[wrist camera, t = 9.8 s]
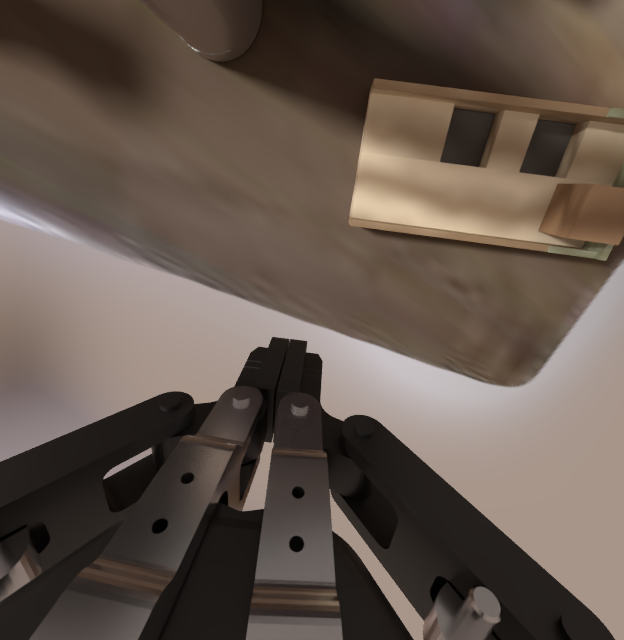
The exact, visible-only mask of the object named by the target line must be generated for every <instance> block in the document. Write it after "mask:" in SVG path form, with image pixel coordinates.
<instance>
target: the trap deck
mask: <svg viewBox="0 0 624 640" xmlns="http://www.w3.org/2000/svg"><path fill="white" fill-rule="evenodd" d="M457 109H460V110H457ZM465 110H468V111H465ZM473 111H476V112H473ZM481 112H484V113H481ZM489 113H492V114H489ZM494 116H495V117H494ZM493 119H494V120H493ZM538 119H539V120H538ZM544 120H547V121H544ZM552 121H554V122H552ZM492 122H493V123H492ZM559 122H562V123H559ZM567 123H570V124H567ZM575 124H576V125H575ZM490 129H491V130H490ZM489 132H490V133H489ZM488 135H489V136H488ZM485 145H486V146H485ZM484 148H485V149H484ZM481 158H482V159H481ZM480 161H481V162H480ZM479 164H480V165H479ZM557 184H598V185H605V186H613V187H620V188H624V109H622V108H614V107H612V108H606V107H598V106H590V105H582V104H575V103H567V102H559V101H551V100H543V99H535V98H527V97H519V96H511V95H503V94H495V93H487V92H480V91H472V90H464V89H456V88H448V87H440V86H432V85H424V84H416V83H408V82H400V81H392V80H385V79H377V78H374V81H373V83H372V86H371V88H370V93H369V99H368V105H367V111H366V117H365V124H364V130H363V136H362V142H361V148H360V154H359V161H358V167H357V173H356V179H355V185H354V191H353V198H352V204H351V210H350V216H349V224H350V226H357V227H364V228H372V229H379V230H387V231H394V232H402V233H409V234H417V235H424V236H432V237H439V238H447V239H454V240H462V241H469V242H477V243H484V244H492V245H500V246H507V247H515V248H522V249H530V250H537V251H545V252H550V253H557V254H565V255H572V256H580V257H587V258H595V259H598V260H604V261H606V260H607V258H608V256H609V254H610V252H611V250H612V248H613V246H614V245H612V244H605V243H597V242H590V241H583V240H575V239H568V238H564V237H560V236H556V235H551V234H547V233H543V232H539V231H538V230H539V227H540V225H541V222H542V220H543V218H544V215H545V213H546V211H547V208H548V206H549V203H550V201H551V199H552V196H553V194H554V191H555V189H556V187H557Z"/></svg>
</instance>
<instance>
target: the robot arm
mask: <svg viewBox="0 0 624 640" xmlns="http://www.w3.org/2000/svg"><path fill="white" fill-rule="evenodd" d="M140 1H141V2H142V3H143V4H144V5H146V6H147V7H148V8H149V9H150V10H151V11H152V12H153V13H154V14H155V15H156V16H157V17H158V18H160V19H161V20H162V21H163V22H164V23H165V24H166V25H167V26H168V27H169V28H170V29H171V30H172V31H173V32H175V33H176V34H177V35H178V36H179V37H180V38H181V39H182V40H183V41H184V42H185V43H186V44H187V45H188V46H189V47H190V48H192V49H193V50H194V51H195V52H197V53H198V54H199V55H201V56H203V57H204V58H206V59H209V60H213V61H216V62H226V61H229V60H233V59H235V58H237V57H239V56H240V55H242V54H243V53H244V52H245V51H246V50H247V49H248V48H249V47H250V46H251V44H252V42H253V41H254V39H255V38H256V35H257V32H258V30H259V27H260V22H261V17H262V0H140ZM306 348H307V341H301V340H293V339H290V343H289V339H285V338H276V337H272V339H271V342H270V344H269V347H268V348H264V347H258V348H256V349H255V350H254V351H252V352H251V353H250V355H249V357H248V359H247V362H246V364H245V366H244V368H243V370H242V372H241V374H240V376H239V378H238V380H237V382H236V384H235V387H233V388H230V389H228V390H226V391H225V392H224V393H223V394H222V395H221V397H220V398H219V400H218V401H215V402H211V403H201V404H194V400H193V398H192V397H191V396H190V395H189V394H187V393H184V392H167V393H164V394H161V395H158V396H156V397H153V398H151V399H149V400H146V401H144V402H142V403H139V404H137V405H135V406H132V407H130V408H128V409H125V410H123V411H120V412H118V413H116V414H113V415H111V416H108V417H106V418H104V419H101V420H99V421H97V422H94V423H92V424H90V425H87V426H85V427H82V428H80V429H77V430H75V431H73V432H71V433H68V434H66V435H63V436H61V437H59V438H56V439H54V440H51V441H49V442H47V443H44V444H42V445H40V446H37V447H35V448H32V449H30V450H28V451H25V452H23V453H20V454H18V455H16V456H13V457H11V458H9V459H6V460H4V461H1V462H0V640H413V638H412V636H411V635H410V633H409V632H408V630H407V629H406V628H405V626H404V624H403V623H402V621H401V620H400V618H399V617H398V615H397V614H396V612H395V611H394V609H393V608H392V606H391V604H390V603H389V601H388V600H387V598H386V597H385V595H384V594H383V593H382V591H381V589H380V588H379V586H378V585H377V583H376V582H375V580H374V579H373V577H372V576H371V574H370V572H369V571H368V569H367V568H366V566H365V565H364V563H363V562H362V560H361V559H360V558H359V556H358V555H357V554H356V552H355V551H354V550H353V549H352V548H351V547H350V545H349V544H348V543H347V542H345V541H344V540H343V539H342V538H341V537H340V536H338V535H337V534H336V533H334V532H333V531H332V524H331V509H330V494H329V489H330V490H331V494H332V497H333V499H334V501H335V502H336V503H337V505H338V506H339V507H340V509H341V510H342V511H343V513H344V514H345V515H346V517H347V518H348V520H349V521H350V522H351V523H352V525H353V526H354V528H355V529H356V530H357V532H358V533H359V534H360V536H361V537H362V538H363V540H364V541H365V542H366V544H367V545H368V546H369V548H370V549H371V550H372V552H373V553H374V554H375V556H376V557H377V559H378V560H379V561H380V563H381V564H382V565H383V567H384V568H385V569H386V571H387V572H388V573H389V575H390V576H391V577H392V579H393V580H394V581H395V583H396V584H397V585H398V587H399V588H400V589H401V591H402V592H403V593H404V595H405V596H406V598H407V599H408V600H409V602H410V603H411V604H412V606H413V607H414V608H415V610H416V611H417V612H418V614H419V615H420V616H421V618H422V619H423V620H424V625H423V640H615V639H614V638H613V636H612V634H611V633H610V632H609V630H608V629H607V628H606V626H605V625H604V624H603V623H602V622H601V621H600V619H599V618H598V617H597V616H596V615H595V614H594V613H592V611H591V610H589V609H588V608H587V607H586V606H585V605H584V604H583V603H582V602H580V601H579V600H578V599H577V598H576V597H575V596H574V595H573V594H572V593H570V592H569V591H568V590H567V589H566V588H565V587H564V586H562V585H561V584H560V583H559V582H558V581H557V580H556V579H555V578H554V577H552V576H551V575H550V574H549V573H548V572H547V571H546V570H545V569H543V568H542V567H541V566H540V565H539V564H538V563H537V562H536V561H534V560H533V559H532V558H531V557H530V556H529V555H528V554H527V553H526V552H524V551H523V550H522V549H521V548H520V547H519V546H518V545H517V544H515V543H514V542H513V541H512V540H511V539H510V538H509V537H508V536H506V535H505V534H504V533H503V532H502V531H501V530H500V529H498V528H497V527H496V526H495V525H494V524H493V523H492V522H491V521H490V520H488V519H487V518H486V517H485V516H484V515H483V514H482V513H481V512H479V511H478V510H477V509H476V508H475V507H474V506H473V505H472V504H471V503H469V502H468V501H467V500H466V499H465V498H464V497H463V496H462V495H460V494H459V493H458V492H457V491H456V490H455V489H454V488H453V487H451V486H450V485H449V484H448V483H447V482H446V481H445V480H444V479H442V478H441V477H440V476H439V475H438V474H437V473H436V472H434V471H433V470H432V469H431V468H430V467H429V466H428V465H427V464H426V463H425V462H423V461H422V460H421V459H420V458H419V457H418V456H417V455H416V454H414V453H413V452H412V451H411V450H410V449H409V448H408V447H406V446H405V445H404V444H403V443H402V442H401V441H400V440H399V439H397V438H396V437H395V436H394V435H393V434H392V433H391V432H390V431H388V430H387V429H386V428H385V427H384V426H383V425H382V424H381V423H379V422H378V421H377V420H375V419H373V418H371V417H369V416H365V415H354V416H350V417H348V418H347V419H345V421H341V420H339V419H336V418H334V417H332V416H330V415H329V414H328V413H326V412H325V411H324V409H323V408H322V406H321V404H320V394H321V376H322V360H321V358H320V357H319V355H318V354H313V353H306ZM273 433H274V440H273V443H274V446H273V449H272V454H271V462H270V469H269V476H268V484H267V492H266V499H265V507H264V509H261V510H253V511H242V510H243V507H244V504H245V501H246V498H247V495H248V493H249V490H250V487H251V484H252V481H253V478H254V476H255V473H256V470H257V467H258V465H259V461H260V453H261V451H262V448H263V445H264V442H272V438H273ZM149 448H152V454H150V455H149V456H147V457H145V458H143V459H141V460H139V461H138V462H136V463H134V464H132V465H130V466H128V467H127V468H125V469H123V470H121V471H119V472H117V473H115V474H114V475H112V476H110V477H108V478H106V479H103V478H104V476H105V475H106V473H107V472H108V471H109V470H110V469H112V468H113V467H115V466H117V465H119V464H120V463H122V462H124V461H126V460H128V459H130V458H132V457H134V456H136V455H138V454H140V453H141V452H143V451H145V450H147V449H149Z"/></svg>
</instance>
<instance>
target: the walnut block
mask: <svg viewBox="0 0 624 640" xmlns="http://www.w3.org/2000/svg"><path fill="white" fill-rule="evenodd" d="M538 231H539V232H543V233H547V234H551V235H556V236H560V237H564V238H568V239H575V240H583V241H590V242H597V243H605V244H612V245H619V244H620V242H621V240H622V238H623V236H624V188H620V187H613V186H605V185H598V184H557V187H556V189H555V191H554V194H553V196H552V199H551V201H550V203H549V206H548V208H547V211H546V213H545V215H544V218H543V220H542V222H541V225H540V227H539V230H538Z"/></svg>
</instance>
